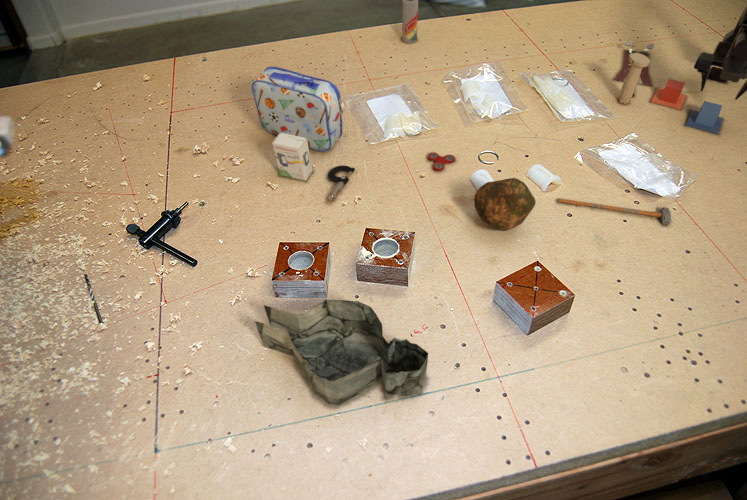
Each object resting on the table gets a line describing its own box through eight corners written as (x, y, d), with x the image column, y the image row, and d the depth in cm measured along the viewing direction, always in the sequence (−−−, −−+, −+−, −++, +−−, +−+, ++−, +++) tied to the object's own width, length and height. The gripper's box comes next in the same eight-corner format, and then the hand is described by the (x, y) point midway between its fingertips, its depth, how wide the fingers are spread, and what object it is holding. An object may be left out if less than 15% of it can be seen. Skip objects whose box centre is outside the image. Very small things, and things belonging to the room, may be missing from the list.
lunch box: (352, 139, 160) (347, 74, 143) (336, 159, 154) (329, 93, 137) (276, 119, 168) (263, 55, 152) (258, 137, 162) (243, 72, 146)
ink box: (313, 170, 151) (308, 137, 142) (305, 182, 147) (300, 148, 139) (286, 165, 153) (279, 131, 144) (278, 175, 150) (271, 142, 141)
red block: (662, 92, 172) (668, 78, 168) (678, 96, 170) (685, 82, 166) (659, 99, 169) (665, 85, 165) (675, 103, 167) (682, 89, 163)
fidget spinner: (426, 155, 154) (426, 152, 153) (449, 151, 155) (450, 147, 154) (434, 172, 149) (435, 169, 148) (459, 168, 150) (459, 164, 149)
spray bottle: (417, 43, 199) (419, -12, 184) (402, 43, 199) (402, -11, 185) (416, 35, 203) (418, -18, 188) (401, 36, 203) (402, -18, 188)
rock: (465, 216, 137) (472, 172, 125) (507, 201, 140) (517, 157, 129) (492, 249, 129) (502, 205, 118) (535, 233, 132) (548, 188, 121)
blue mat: (691, 110, 165) (691, 109, 165) (722, 119, 162) (722, 118, 161) (685, 125, 160) (685, 124, 160) (717, 134, 157) (718, 133, 156)
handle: (623, 95, 172) (639, 51, 161) (636, 105, 168) (653, 61, 157) (611, 98, 171) (626, 54, 160) (623, 108, 167) (640, 64, 156)
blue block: (697, 114, 163) (704, 100, 159) (714, 119, 161) (722, 105, 157) (694, 122, 160) (701, 108, 156) (712, 127, 158) (719, 113, 154)
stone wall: (434, 348, 111) (437, 322, 103) (409, 430, 99) (411, 407, 92) (285, 307, 119) (278, 280, 112) (246, 377, 107) (235, 352, 100)
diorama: (654, 49, 191) (659, 36, 188) (650, 99, 170) (656, 86, 166) (619, 44, 194) (623, 32, 191) (611, 93, 173) (616, 80, 169)
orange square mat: (657, 88, 174) (657, 87, 173) (686, 96, 170) (686, 95, 170) (650, 102, 169) (651, 100, 169) (680, 109, 165) (680, 108, 165)
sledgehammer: (558, 196, 141) (557, 208, 138) (559, 191, 140) (559, 203, 137) (667, 212, 135) (669, 225, 132) (670, 207, 134) (672, 220, 131)
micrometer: (335, 165, 152) (335, 158, 150) (357, 171, 150) (357, 164, 148) (309, 197, 143) (308, 190, 141) (332, 204, 141) (331, 197, 139)
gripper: (702, 48, 141) (679, 99, 152) (781, 65, 134) (750, 117, 146) (709, 31, 147) (686, 81, 159) (785, 47, 140) (755, 98, 152)
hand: (718, 94), depth 153 cm, fingers open, 9 cm apart
